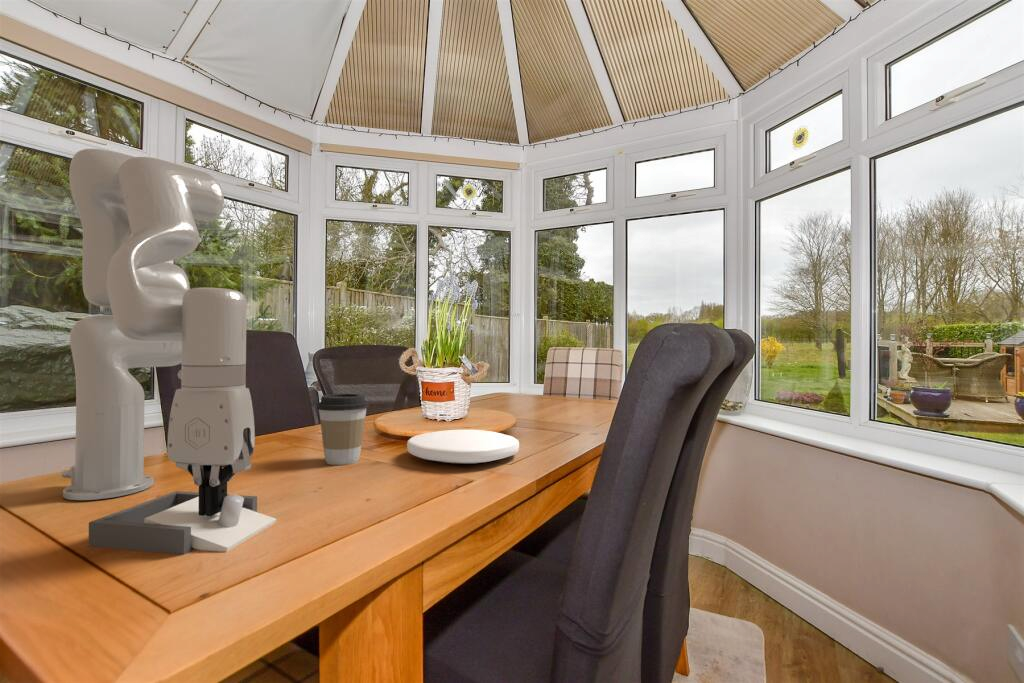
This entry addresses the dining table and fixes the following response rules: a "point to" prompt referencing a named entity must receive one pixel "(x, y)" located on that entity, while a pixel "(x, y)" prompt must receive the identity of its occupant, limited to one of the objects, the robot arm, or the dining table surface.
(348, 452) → the coffee cup
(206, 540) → the cover plate
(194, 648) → the dining table surface
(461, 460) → the white round disc
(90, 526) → the dark box
